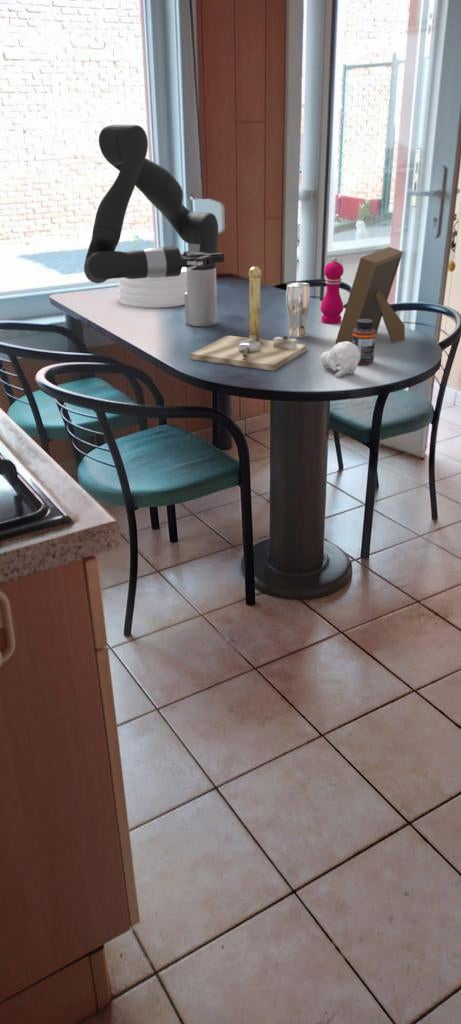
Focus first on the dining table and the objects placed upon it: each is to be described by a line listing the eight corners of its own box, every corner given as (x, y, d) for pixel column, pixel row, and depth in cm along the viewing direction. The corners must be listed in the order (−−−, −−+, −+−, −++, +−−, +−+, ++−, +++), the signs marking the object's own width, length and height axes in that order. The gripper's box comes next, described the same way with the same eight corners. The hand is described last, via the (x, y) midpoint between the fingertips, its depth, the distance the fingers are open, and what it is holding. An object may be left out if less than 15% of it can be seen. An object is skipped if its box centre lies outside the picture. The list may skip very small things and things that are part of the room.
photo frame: (335, 347, 220) (341, 255, 209) (363, 330, 237) (370, 245, 226) (384, 354, 214) (393, 260, 202) (410, 337, 231) (420, 249, 219)
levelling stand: (190, 359, 211) (189, 341, 209) (227, 340, 228) (227, 324, 226) (273, 370, 201) (274, 352, 198) (306, 350, 218) (307, 333, 216)
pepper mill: (341, 324, 244) (345, 258, 235) (318, 323, 246) (321, 258, 236) (343, 319, 251) (347, 255, 241) (321, 318, 252) (323, 254, 243)
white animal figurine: (343, 345, 189) (313, 339, 199) (343, 379, 193) (313, 372, 202) (363, 341, 192) (332, 336, 202) (362, 375, 196) (332, 368, 205)
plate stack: (211, 296, 285) (211, 264, 280) (166, 311, 264) (164, 276, 259) (151, 289, 299) (149, 258, 294) (103, 302, 278) (100, 269, 273)
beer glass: (310, 333, 235) (312, 282, 228) (305, 339, 229) (306, 287, 222) (288, 332, 237) (289, 281, 230) (282, 337, 231) (283, 285, 224)
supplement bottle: (349, 359, 209) (352, 317, 204) (371, 359, 209) (375, 317, 204) (352, 366, 204) (354, 322, 199) (374, 366, 204) (378, 322, 199)
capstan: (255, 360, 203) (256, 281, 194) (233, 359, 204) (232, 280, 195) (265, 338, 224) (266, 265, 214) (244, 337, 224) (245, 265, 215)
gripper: (167, 251, 196) (231, 246, 202) (153, 243, 207) (214, 239, 213) (169, 281, 200) (231, 276, 205) (155, 272, 211) (215, 267, 216)
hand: (222, 257), depth 209 cm, fingers closed
